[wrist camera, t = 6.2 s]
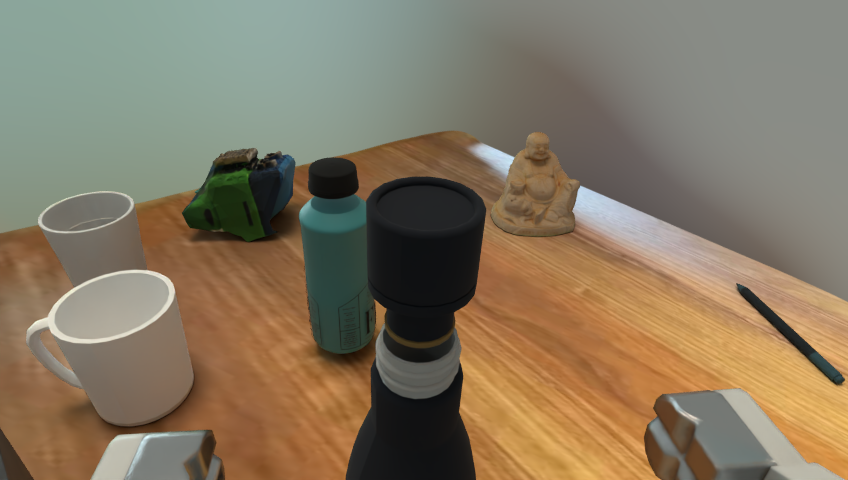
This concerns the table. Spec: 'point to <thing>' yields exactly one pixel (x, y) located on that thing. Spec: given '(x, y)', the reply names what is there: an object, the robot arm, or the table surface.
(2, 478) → the book rack
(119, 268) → the cup
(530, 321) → the table surface
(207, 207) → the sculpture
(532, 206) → the statue
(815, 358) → the pen
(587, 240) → the table surface
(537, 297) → the table surface
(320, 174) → the beverage bottle
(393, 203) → the wine bottle
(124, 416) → the mug
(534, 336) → the table surface
